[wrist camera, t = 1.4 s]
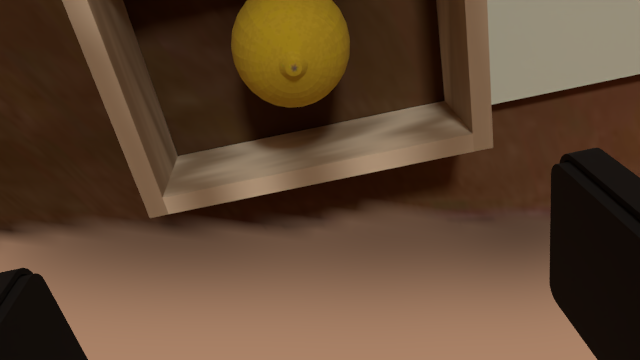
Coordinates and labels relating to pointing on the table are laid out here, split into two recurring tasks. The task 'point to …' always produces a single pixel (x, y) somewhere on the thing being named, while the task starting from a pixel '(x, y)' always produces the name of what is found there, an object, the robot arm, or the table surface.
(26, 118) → the table surface
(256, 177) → the brown wooden tray
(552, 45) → the board
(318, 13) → the lemon
